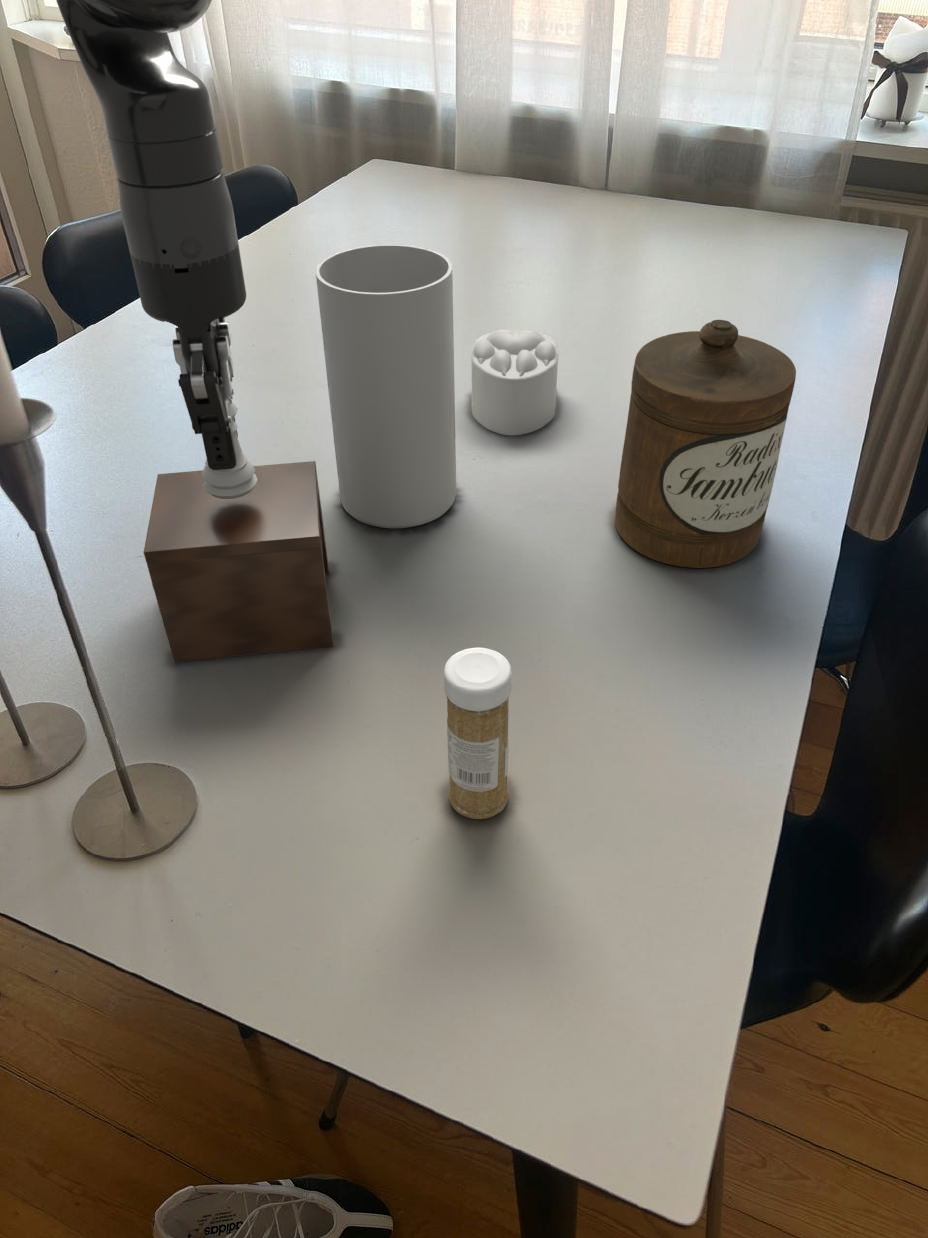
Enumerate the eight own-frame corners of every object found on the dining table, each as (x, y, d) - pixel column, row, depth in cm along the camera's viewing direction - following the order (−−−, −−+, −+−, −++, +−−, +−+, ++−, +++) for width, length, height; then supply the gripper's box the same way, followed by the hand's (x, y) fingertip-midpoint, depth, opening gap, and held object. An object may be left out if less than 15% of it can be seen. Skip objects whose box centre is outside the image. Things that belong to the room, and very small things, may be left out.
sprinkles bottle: (518, 788, 73) (523, 657, 65) (490, 831, 70) (492, 700, 62) (465, 766, 75) (464, 636, 66) (436, 807, 72) (430, 676, 63)
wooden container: (678, 587, 92) (715, 373, 78) (586, 513, 102) (603, 311, 88) (791, 540, 98) (844, 333, 84) (693, 474, 108) (726, 278, 93)
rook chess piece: (259, 497, 80) (244, 410, 75) (204, 504, 79) (185, 415, 74) (257, 470, 83) (242, 384, 78) (204, 476, 82) (186, 389, 77)
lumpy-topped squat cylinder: (555, 386, 124) (559, 321, 119) (555, 436, 114) (559, 368, 109) (475, 384, 125) (474, 319, 119) (467, 433, 115) (467, 366, 110)
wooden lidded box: (173, 663, 85) (143, 552, 77) (183, 580, 94) (157, 473, 86) (333, 646, 86) (319, 536, 78) (328, 566, 95) (315, 460, 87)
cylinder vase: (478, 489, 106) (478, 259, 90) (412, 545, 98) (398, 304, 82) (386, 457, 111) (371, 236, 95) (316, 508, 103) (287, 276, 87)
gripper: (139, 212, 73) (184, 417, 84) (115, 280, 62) (170, 506, 73) (240, 206, 74) (271, 411, 85) (234, 273, 63) (270, 497, 74)
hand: (224, 454), depth 79 cm, fingers closed on rook chess piece, 3 cm apart
